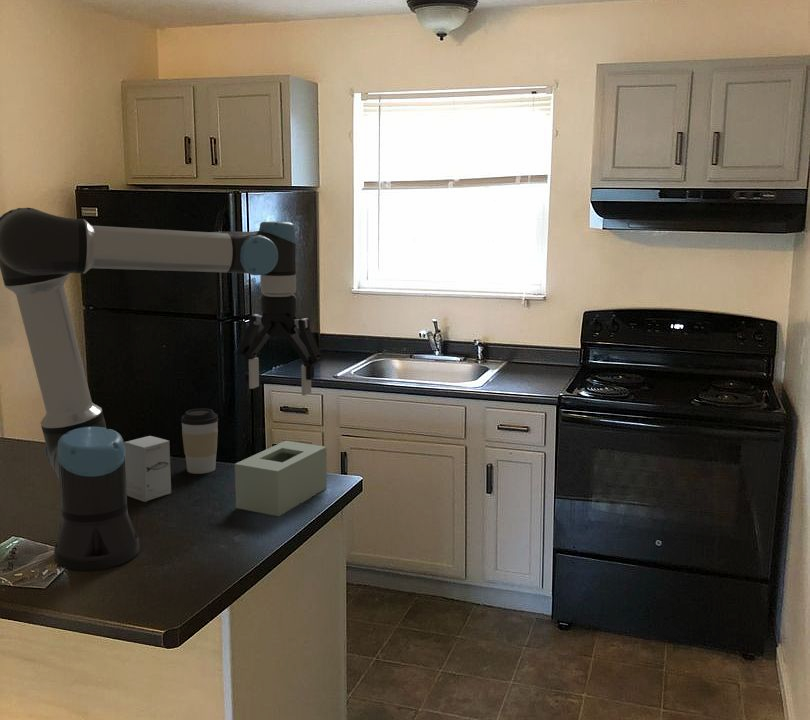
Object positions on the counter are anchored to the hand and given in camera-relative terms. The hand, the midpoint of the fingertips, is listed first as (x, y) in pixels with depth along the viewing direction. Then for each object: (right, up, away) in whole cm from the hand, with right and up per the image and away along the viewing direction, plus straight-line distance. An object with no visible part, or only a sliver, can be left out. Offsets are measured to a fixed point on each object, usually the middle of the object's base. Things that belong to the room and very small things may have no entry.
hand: (279, 390), depth 194 cm
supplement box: (-30, -24, +6) cm, 39 cm away
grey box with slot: (0, -24, +5) cm, 25 cm away
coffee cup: (-23, -20, +24) cm, 39 cm away
